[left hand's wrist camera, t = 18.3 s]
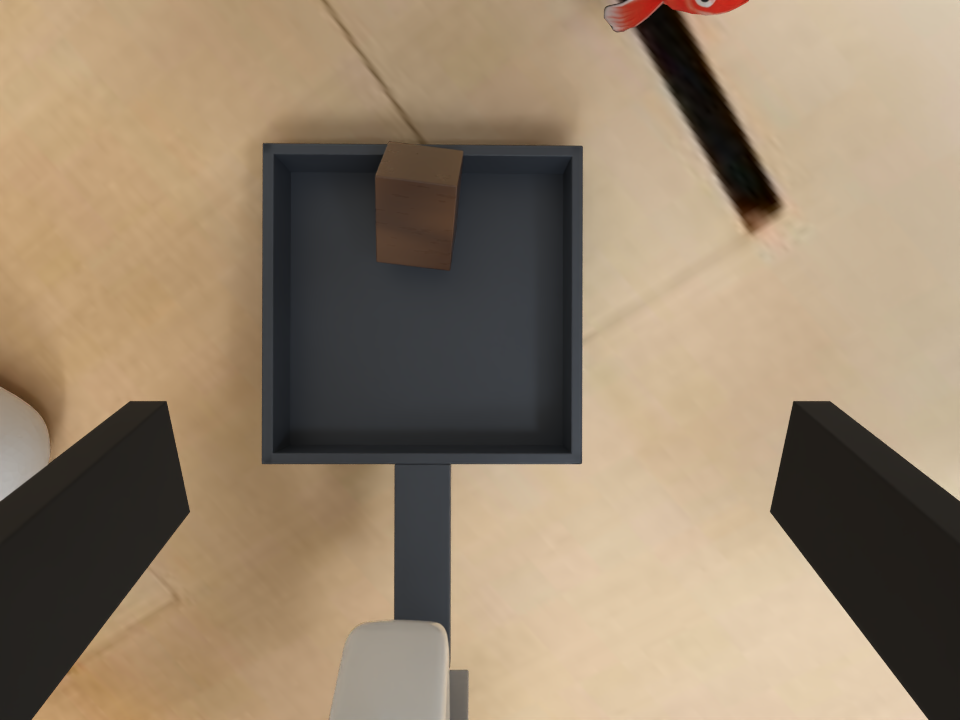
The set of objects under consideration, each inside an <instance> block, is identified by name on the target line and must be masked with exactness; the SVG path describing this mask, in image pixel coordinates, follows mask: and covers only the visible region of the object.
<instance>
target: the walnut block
mask: <svg viewBox="0 0 960 720" xmlns="http://www.w3.org/2000/svg"><path fill="white" fill-rule="evenodd" d="M463 153H464V152H463V151H460V150H452V149H445V148H437V147H429V146H421V145H413V144H406V143H398V142H388V145H387V147H386V150H385V152H384V155H383V157H382V160H381V162H380V165H379V167H378V170H377V173H376V175H375V211H376V261H377V262H381V263H389V264H397V265H406V266H414V267H422V268H430V269H439V270H447V271H450V269H451V262H452V256H453V250H454V243H455V237H456V230H457V219H458V208H459V197H460V186H461V175H462V164H463Z"/></svg>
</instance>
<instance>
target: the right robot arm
mask: <svg viewBox="0 0 960 720" xmlns="http://www.w3.org/2000/svg"><path fill="white" fill-rule="evenodd" d="M329 720H450V682H449V645H448V637H447V633H446V631H445V628H444V627H443V626H442V625H441V624H439V623H437V622H433V621H420V620H381V621H369V622H364V623H361V624H359V625H358V626H356V627H355V628H354V629H353V630H352V631H351V632H350V634H349V635H348V637H347V639H346V641H345V645H344V648H343V653H342V657H341V662H340V666H339V671H338V676H337V681H336V686H335V691H334V695H333V700H332V705H331V710H330V716H329Z"/></svg>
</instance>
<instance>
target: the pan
mask: <svg viewBox="0 0 960 720" xmlns="http://www.w3.org/2000/svg"><path fill="white" fill-rule="evenodd" d="M387 145H388V144H282V143H263V262H262V464H395V532H394V620H420V621H433V622H437V623H439V624H441V625H442V626H443V627H444V628H445V631H446V633H447V637H448V645H449V668H450V659H451V464H582V233H583V146H537V145H421V146H429V147H437V148H445V149H452V150H460V151H463V152H464V153H463V164H462V175H461V186H460V197H459V208H458V219H457V230H456V237H455V243H454V250H453V256H452V262H451V269H450V271H447V270H439V269H430V268H422V267H414V266H406V265H397V264H389V263H381V262H377V261H376V211H375V175H376V173H377V170H378V167H379V165H380V162H381V160H382V157H383V155H384V152H385V150H386V147H387ZM449 682H450V720H468V670H449Z"/></svg>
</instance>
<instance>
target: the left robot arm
mask: <svg viewBox="0 0 960 720" xmlns="http://www.w3.org/2000/svg"><path fill="white" fill-rule="evenodd" d="M189 512H190V510H189V505H188V500H187V496H186V491H185V486H184V481H183V477H182V472H181V467H180V462H179V458H178V453H177V448H176V444H175V439H174V434H173V429H172V425H171V420H170V415H169V411H168V406H167V401H130V402H128V403H127V404H126V405H125V406H123V407H122V408H121V409H119V410H118V411H117V412H115V413H114V414H113V415H112V416H110V417H109V418H108V419H106V420H105V421H104V422H102V423H101V424H100V425H99V426H97V427H96V428H95V429H93V430H92V431H91V432H89V433H88V434H87V435H86V436H84V437H83V438H82V439H80V440H79V441H78V442H77V443H75V444H74V445H73V446H71V447H70V448H69V449H67V450H66V451H65V452H64V453H62V454H61V455H60V456H58V457H57V458H56V459H54V460H53V461H52V462H51V463H49V464H48V465H47V466H45V467H44V468H43V469H42V470H40V471H39V472H38V473H36V474H35V475H34V476H32V477H31V478H30V479H29V480H27V481H26V482H25V483H23V484H22V485H21V486H19V487H18V488H17V489H16V490H14V491H13V492H12V493H10V494H9V495H8V496H6V497H5V498H4V499H3V500H1V501H0V720H32V718H33V717H34V716H35V714H36V713H37V712H38V710H39V709H40V708H41V707H42V705H43V704H44V703H45V701H46V700H47V699H48V697H49V696H50V695H51V693H52V692H53V691H54V690H55V688H56V687H57V686H58V684H59V683H60V682H61V680H62V679H63V678H64V676H65V675H66V674H67V672H68V671H69V670H70V669H71V667H72V666H73V665H74V663H75V662H76V661H77V659H78V658H79V657H80V655H81V654H82V653H83V651H84V650H85V649H86V648H87V646H88V645H89V644H90V642H91V641H92V640H93V638H94V637H95V636H96V634H97V633H98V632H99V630H100V629H101V628H102V627H103V625H104V624H105V623H106V621H107V620H108V619H109V617H110V616H111V615H112V613H113V612H114V611H115V609H116V608H117V607H118V606H119V604H120V603H121V602H122V600H123V599H124V598H125V596H126V595H127V594H128V592H129V591H130V590H131V588H132V587H133V586H134V585H135V583H136V582H137V581H138V579H139V578H140V577H141V575H142V574H143V573H144V571H145V570H146V569H147V568H148V566H149V565H150V564H151V562H152V561H153V560H154V558H155V557H156V556H157V554H158V553H159V552H160V550H161V549H162V548H163V547H164V545H165V544H166V543H167V541H168V540H169V539H170V537H171V536H172V535H173V533H174V532H175V531H176V529H177V528H178V527H179V526H180V524H181V523H182V522H183V520H184V519H185V518H186V516H187V515H188V514H189ZM770 512H771V514H772V515H773V516H774V518H775V519H776V520H777V522H778V523H779V524H780V526H781V527H782V528H783V529H784V531H785V532H786V533H787V535H788V536H789V537H790V539H791V540H792V541H793V543H794V544H795V545H796V547H797V548H798V549H799V550H800V552H801V553H802V554H803V556H804V557H805V558H806V560H807V561H808V562H809V564H810V565H811V566H812V568H813V569H814V570H815V571H816V573H817V574H818V575H819V577H820V578H821V579H822V581H823V582H824V583H825V585H826V586H827V587H828V589H829V590H830V591H831V592H832V594H833V595H834V596H835V598H836V599H837V600H838V602H839V603H840V604H841V606H842V607H843V608H844V609H845V611H846V612H847V613H848V615H849V616H850V617H851V619H852V620H853V621H854V623H855V624H856V625H857V627H858V628H859V629H860V630H861V632H862V633H863V634H864V636H865V637H866V638H867V640H868V641H869V642H870V644H871V645H872V646H873V648H874V649H875V650H876V651H877V653H878V654H879V655H880V657H881V658H882V659H883V661H884V662H885V663H886V665H887V666H888V667H889V669H890V670H891V671H892V672H893V674H894V675H895V676H896V678H897V679H898V680H899V682H900V683H901V684H902V686H903V687H904V688H905V690H906V691H907V692H908V693H909V695H910V696H911V697H912V699H913V700H914V701H915V703H916V704H917V705H918V707H919V708H920V709H921V710H922V712H923V713H924V714H925V716H926V717H927V718H928V720H960V501H959V500H957V499H956V498H955V497H954V496H952V495H951V494H950V493H948V492H947V491H946V490H944V489H943V488H942V487H941V486H939V485H938V484H937V483H935V482H934V481H933V480H931V479H930V478H929V477H928V476H926V475H925V474H924V473H922V472H921V471H920V470H918V469H917V468H916V467H915V466H913V465H912V464H911V463H909V462H908V461H907V460H906V459H904V458H903V457H902V456H900V455H899V454H898V453H896V452H895V451H894V450H893V449H891V448H890V447H889V446H887V445H886V444H885V443H883V442H882V441H881V440H880V439H878V438H877V437H876V436H874V435H873V434H872V433H871V432H869V431H868V430H867V429H865V428H864V427H863V426H861V425H860V424H859V423H858V422H856V421H855V420H854V419H852V418H851V417H850V416H848V415H847V414H846V413H845V412H843V411H842V410H841V409H839V408H838V407H837V406H835V405H834V404H833V403H832V402H830V401H793V406H792V411H791V415H790V420H789V425H788V429H787V434H786V439H785V444H784V448H783V453H782V458H781V462H780V467H779V472H778V477H777V481H776V486H775V491H774V496H773V500H772V505H771V510H770Z"/></svg>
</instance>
